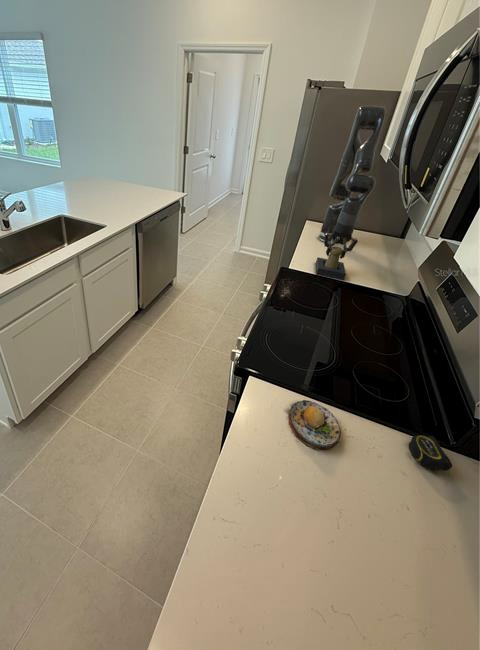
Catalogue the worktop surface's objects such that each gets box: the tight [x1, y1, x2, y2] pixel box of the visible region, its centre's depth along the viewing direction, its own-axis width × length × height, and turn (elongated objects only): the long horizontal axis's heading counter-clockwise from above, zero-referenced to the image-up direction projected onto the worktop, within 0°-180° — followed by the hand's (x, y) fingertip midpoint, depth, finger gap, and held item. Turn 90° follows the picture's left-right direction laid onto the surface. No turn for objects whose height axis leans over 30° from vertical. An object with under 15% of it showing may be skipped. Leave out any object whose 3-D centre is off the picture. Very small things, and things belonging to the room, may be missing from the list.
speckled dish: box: [287, 399, 342, 451], centre depth 72 cm, size 12×12×8 cm
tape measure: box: [408, 434, 453, 471], centre depth 69 cm, size 7×7×4 cm
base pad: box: [315, 257, 347, 281], centre depth 145 cm, size 12×12×4 cm
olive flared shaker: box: [324, 245, 343, 269], centre depth 142 cm, size 6×6×11 cm
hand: (334, 256), depth 142 cm, fingers closed on olive flared shaker, 5 cm apart
